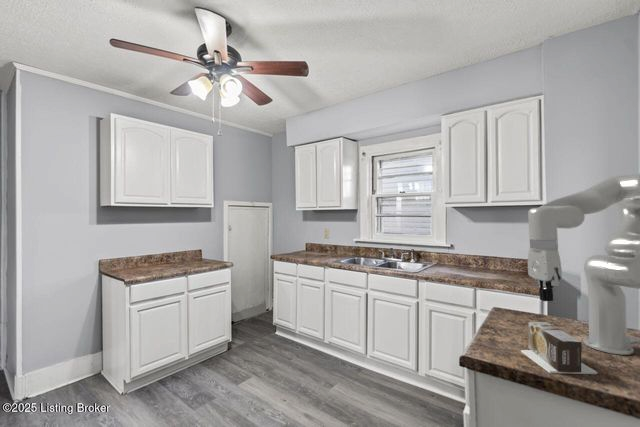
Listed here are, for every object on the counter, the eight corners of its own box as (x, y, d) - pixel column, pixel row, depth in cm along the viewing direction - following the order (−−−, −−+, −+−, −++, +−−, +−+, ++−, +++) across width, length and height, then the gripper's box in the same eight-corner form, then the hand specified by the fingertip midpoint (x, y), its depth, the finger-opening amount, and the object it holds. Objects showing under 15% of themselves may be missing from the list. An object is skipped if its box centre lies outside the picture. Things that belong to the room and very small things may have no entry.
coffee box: (527, 321, 104) (557, 339, 88) (547, 322, 103) (582, 340, 87) (527, 348, 104) (558, 372, 88) (548, 349, 103) (582, 373, 87)
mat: (561, 352, 102) (561, 350, 102) (597, 374, 88) (597, 372, 88) (521, 351, 103) (521, 349, 103) (549, 373, 89) (549, 370, 89)
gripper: (518, 243, 108) (520, 294, 108) (547, 247, 94) (550, 307, 94) (539, 242, 108) (542, 294, 108) (573, 246, 93) (576, 307, 93)
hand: (546, 300), depth 101 cm, fingers closed
